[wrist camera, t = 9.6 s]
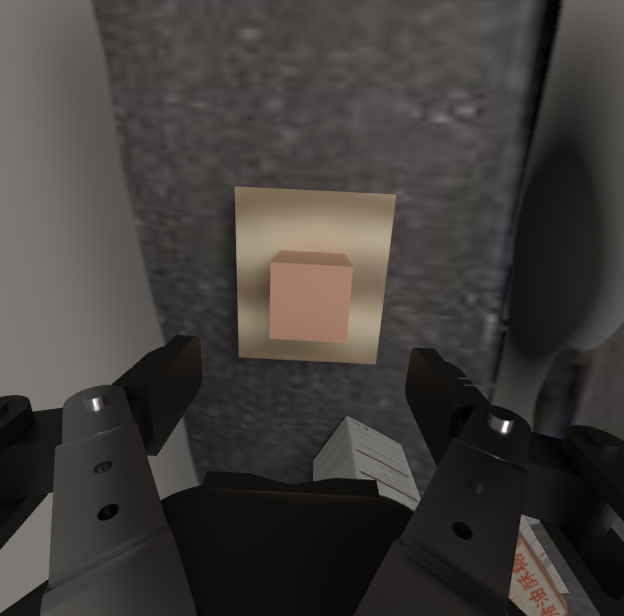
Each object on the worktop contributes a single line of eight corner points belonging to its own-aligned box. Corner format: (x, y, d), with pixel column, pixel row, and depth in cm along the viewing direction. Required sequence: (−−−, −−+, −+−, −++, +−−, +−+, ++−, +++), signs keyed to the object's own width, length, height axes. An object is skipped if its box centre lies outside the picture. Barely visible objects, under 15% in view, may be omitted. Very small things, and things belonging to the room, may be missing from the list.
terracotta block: (281, 249, 25) (270, 262, 19) (344, 253, 25) (353, 266, 19) (279, 310, 26) (269, 338, 20) (339, 313, 26) (346, 343, 20)
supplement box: (365, 486, 37) (388, 622, 25) (311, 459, 36) (308, 587, 24) (403, 442, 35) (448, 566, 23) (347, 412, 34) (363, 525, 22)
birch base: (246, 189, 27) (234, 186, 23) (385, 196, 27) (396, 194, 23) (248, 339, 31) (238, 357, 27) (368, 345, 31) (375, 364, 27)
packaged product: (449, 568, 34) (536, 533, 33) (433, 526, 39) (509, 492, 37) (513, 656, 39) (593, 629, 37) (492, 608, 43) (562, 582, 42)
